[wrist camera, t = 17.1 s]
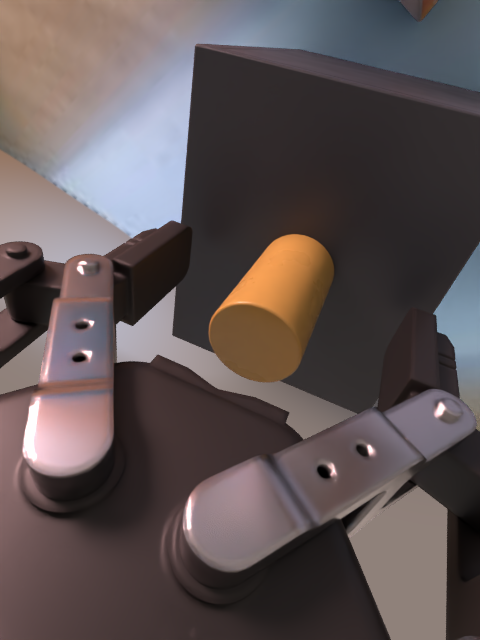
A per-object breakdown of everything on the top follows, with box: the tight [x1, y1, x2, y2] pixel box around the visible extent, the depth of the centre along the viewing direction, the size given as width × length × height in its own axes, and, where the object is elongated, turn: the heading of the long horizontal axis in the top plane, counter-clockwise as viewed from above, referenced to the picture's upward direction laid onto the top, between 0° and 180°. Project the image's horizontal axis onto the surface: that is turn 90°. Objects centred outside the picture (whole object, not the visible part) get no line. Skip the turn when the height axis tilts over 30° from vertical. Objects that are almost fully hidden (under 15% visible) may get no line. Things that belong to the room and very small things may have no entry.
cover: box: [172, 44, 480, 414], centre depth 17 cm, size 10×12×18 cm
